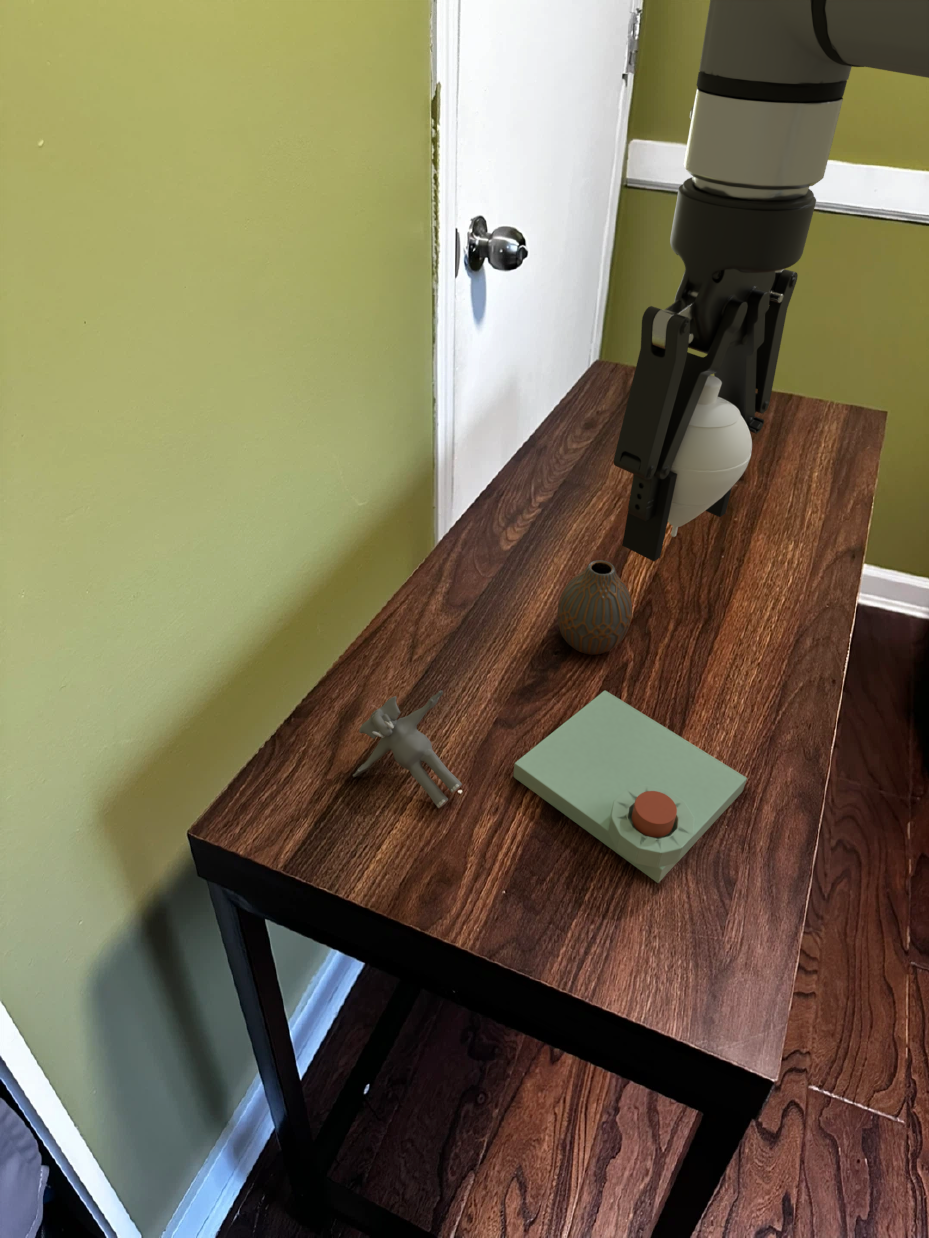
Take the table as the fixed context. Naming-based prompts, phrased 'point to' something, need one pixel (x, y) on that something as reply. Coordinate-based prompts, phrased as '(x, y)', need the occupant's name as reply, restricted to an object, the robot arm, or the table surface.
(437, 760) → the elephant figurine
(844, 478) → the table surface
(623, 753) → the green push button box
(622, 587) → the vase
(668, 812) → the button
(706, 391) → the spinning top
